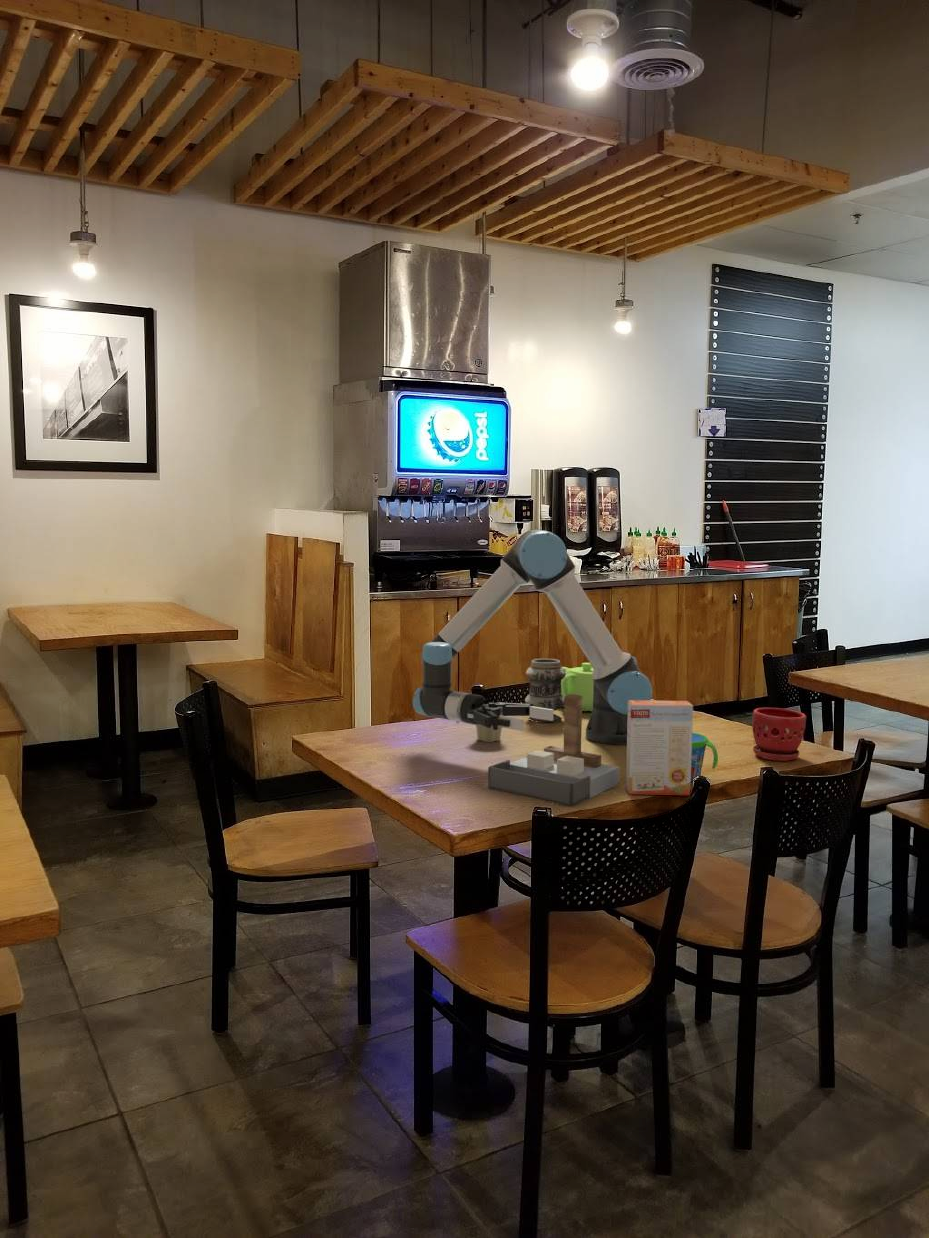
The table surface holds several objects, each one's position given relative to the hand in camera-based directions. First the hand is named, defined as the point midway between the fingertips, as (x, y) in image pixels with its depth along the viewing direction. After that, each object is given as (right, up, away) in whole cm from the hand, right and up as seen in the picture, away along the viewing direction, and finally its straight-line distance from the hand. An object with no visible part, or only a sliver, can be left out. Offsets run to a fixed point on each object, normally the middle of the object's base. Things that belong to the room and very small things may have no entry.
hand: (538, 720), depth 243 cm
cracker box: (+26, -15, -14) cm, 33 cm away
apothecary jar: (+6, -6, +58) cm, 59 cm away
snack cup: (+35, -14, -3) cm, 37 cm away
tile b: (+6, -11, -13) cm, 18 cm away
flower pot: (-11, -9, +33) cm, 36 cm away
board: (+5, -14, -7) cm, 16 cm away
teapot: (+22, -4, +76) cm, 80 cm away
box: (-1, -15, -16) cm, 22 cm away
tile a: (0, -10, -8) cm, 13 cm away
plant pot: (+64, -12, +18) cm, 67 cm away
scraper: (+8, -10, -4) cm, 13 cm away
